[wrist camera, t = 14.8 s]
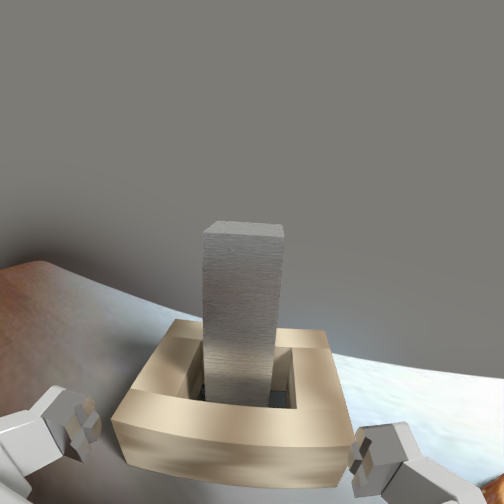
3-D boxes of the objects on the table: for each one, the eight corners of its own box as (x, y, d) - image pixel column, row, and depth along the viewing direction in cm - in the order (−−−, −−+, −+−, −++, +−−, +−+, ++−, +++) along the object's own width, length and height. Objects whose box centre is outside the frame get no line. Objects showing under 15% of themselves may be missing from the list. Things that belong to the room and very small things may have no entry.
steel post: (207, 431, 18) (202, 232, 15) (216, 397, 22) (217, 220, 19) (264, 437, 18) (284, 237, 15) (266, 401, 22) (282, 224, 19)
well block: (127, 464, 14) (110, 419, 13) (178, 360, 27) (175, 318, 26) (336, 486, 13) (356, 445, 12) (316, 371, 26) (324, 330, 25)
